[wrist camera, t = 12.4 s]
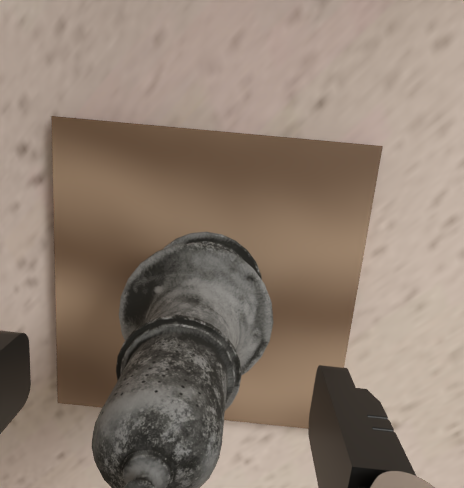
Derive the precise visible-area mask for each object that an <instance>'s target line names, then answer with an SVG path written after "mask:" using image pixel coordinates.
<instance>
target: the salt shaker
mask: <svg viewBox="0 0 464 488" xmlns="http://www.w3.org/2000/svg"><path fill="white" fill-rule="evenodd" d="M119 320H120V326H121V332H122V335H123V337H124V340H125V341H124V343H123V345H122V347H121V350H120V352H119V354H118V356H117V365H116V375H117V383H116V385H115V386H114V388H113V390H112V392H111V394H110V395H109V397H108V399H107V401H106V402H105V404H104V406H103V408H102V410H101V412H100V414H99V416H98V418H97V421H96V423H95V427H94V431H93V439H92V451H93V456H94V461H95V463H96V465H97V467H98V469H99V471H100V473H101V475H102V477H103V478H104V480H105V481H106V482H107V483H108V484H109V485H110V486H111V487H112V488H200V487H201V486H202V485H203V484H204V483H205V482H206V481H207V480H208V479H209V477H210V475H211V473H212V472H213V470H214V468H215V466H216V464H217V461H218V459H219V455H220V450H221V445H222V435H223V425H224V414H225V410H226V409H227V408H228V407H229V406H230V405H231V404H232V403H233V401H234V399H235V397H236V395H237V393H238V391H239V387H240V382H241V376H242V375H243V374H245V373H246V372H248V371H249V370H250V369H251V368H252V367H253V366H254V365H255V364H256V363H257V361H258V360H259V359H260V358H261V357H262V355H263V353H264V351H265V349H266V347H267V345H268V343H269V342H270V337H271V332H272V327H273V311H272V302H271V299H270V297H269V294H268V291H267V289H266V286H265V284H264V282H263V281H262V277H261V273H260V271H259V268H258V265H257V263H256V261H255V260H254V258H253V257H252V256H251V254H250V253H249V251H248V250H247V249H245V248H244V247H243V246H242V245H241V244H239V243H238V242H237V241H236V240H233V239H231V238H229V237H227V236H224V235H222V234H217V233H212V232H197V233H190V234H187V235H184V236H182V237H179V238H177V239H175V240H174V241H172V242H171V243H170V244H168V245H167V246H165V247H164V249H163V250H160V251H157V252H156V253H154V254H153V255H151V256H150V257H149V258H147V259H146V260H144V261H143V262H142V263H140V264H139V266H138V267H137V268H136V269H135V271H134V272H133V273H132V274H131V276H130V277H129V278H128V280H127V282H126V285H125V287H124V290H123V292H122V295H121V298H120V307H119Z"/></svg>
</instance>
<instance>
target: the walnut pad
mask: <svg viewBox="0 0 464 488" xmlns="http://www.w3.org/2000/svg"><path fill="white" fill-rule="evenodd" d="M381 152H382V146H375V145H364V144H353V143H342V142H331V141H320V140H309V139H298V138H287V137H275V136H264V135H253V134H242V133H231V132H220V131H209V130H198V129H187V128H176V127H165V126H154V125H143V124H132V123H121V122H110V121H99V120H88V119H77V118H66V117H55V116H52V162H53V208H54V254H55V300H56V346H57V392H58V403H64V404H74V405H84V406H93V407H103V406H104V404H105V402H106V401H107V399H108V397H109V395H110V394H111V392H112V390H113V388H114V386H115V385H116V383H117V375H116V365H117V356H118V354H119V352H120V350H121V347H122V345H123V343H124V341H125V340H124V337H123V335H122V332H121V326H120V320H119V307H120V298H121V295H122V292H123V290H124V287H125V285H126V282H127V280H128V278H129V277H130V276H131V274H132V273H133V272H134V271H135V269H136V268H137V267H138V266H139V264H140V263H142V262H143V261H144V260H146V259H147V258H149V257H150V256H151V255H153V254H154V253H156V252H157V251H160V250H163V249H164V247H165V246H167V245H168V244H170V243H171V242H172V241H174V240H175V239H177V238H179V237H182V236H184V235H187V234H190V233H197V232H212V233H217V234H222V235H224V236H227V237H229V238H231V239H233V240H236V241H237V242H238V243H239V244H241V245H242V246H243V247H244V248H245V249H247V250H248V251H249V253H250V254H251V256H252V257H253V258H254V260H255V261H256V263H257V265H258V268H259V271H260V273H261V277H262V281H263V282H264V284H265V286H266V289H267V291H268V294H269V297H270V299H271V302H272V311H273V327H272V332H271V337H270V342H269V343H268V345H267V347H266V349H265V351H264V353H263V355H262V357H261V358H260V359H259V360H258V361H257V363H256V364H255V365H254V366H253V367H252V368H251V369H250V370H249V371H248V372H246V373H245V374H243V375H242V376H241V382H240V387H239V391H238V393H237V395H236V397H235V399H234V401H233V403H232V404H231V405H230V406H229V407H228V408H227V409H226V410H225V414H224V420H230V421H240V422H250V423H259V424H269V425H279V426H289V427H299V428H308V429H309V413H310V407H311V401H312V395H313V389H314V383H315V377H316V371H317V368H318V366H319V365H323V366H332V367H342V368H344V363H345V357H346V352H347V346H348V340H349V335H350V329H351V323H352V318H353V312H354V306H355V300H356V295H357V289H358V283H359V278H360V272H361V266H362V261H363V255H364V249H365V243H366V238H367V232H368V226H369V221H370V215H371V209H372V203H373V198H374V192H375V186H376V181H377V175H378V169H379V164H380V158H381Z"/></svg>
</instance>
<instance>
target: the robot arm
mask: <svg viewBox="0 0 464 488" xmlns="http://www.w3.org/2000/svg"><path fill="white" fill-rule="evenodd" d="M30 385H31V380H30V355H29V339H28V336H27V335H26V334H25V333H17V332H7V331H0V434H1V433H2V431H3V430H4V429H5V428H6V427H7V425H8V424H9V423H10V422H11V421H12V419H13V418H14V417H15V416H16V415H17V413H18V412H19V411H20V410H21V409H22V407H23V406H24V404H25V402H26V400H27V398H28V395H29V391H30ZM387 418H388V417H387V415H386V413H385V411H384V409H383V407H382V405H381V402H380V401H378V400H377V399H376V398H375V397H374V396H373V395H372V394H371V393H370V392H369V391H368V390H367V389H360V388H355V385H354V383H353V380H352V378H351V376H350V373H349V371H348V369H347V368H342V367H332V366H323V365H319V366H318V368H317V371H316V377H315V383H314V389H313V395H312V401H311V407H310V413H309V440H310V445H311V451H312V456H313V461H314V466H315V471H316V476H317V481H318V487H319V488H435V487H433V486H432V485H431V484H429V483H428V482H426V481H425V480H423V479H421V478H419V477H417V476H416V474H415V472H414V470H413V468H412V466H411V464H410V462H409V460H408V458H407V456H406V454H405V452H404V450H403V448H402V446H401V443H400V441H399V439H398V437H397V435H396V433H395V432H394V431H393V430H394V429H393V427H392V425H391V423H390V421H389V420H388V419H387Z"/></svg>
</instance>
